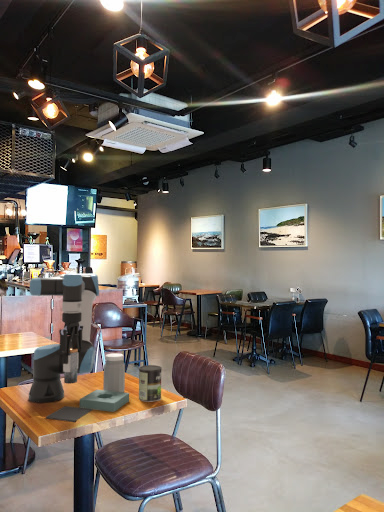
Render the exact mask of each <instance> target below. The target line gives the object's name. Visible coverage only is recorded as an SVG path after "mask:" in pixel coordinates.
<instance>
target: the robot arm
mask: <svg viewBox="0 0 384 512" xmlns="http://www.w3.org/2000/svg"><path fill="white" fill-rule="evenodd" d="M29 293H30V295H31V296H37V297H40V296H43V297H44V296H49V297H50V296H51V297H52V296H55V297H56V296H57V297H59V296H62V304H61V306H62V308H61V311H62V314H61V318H62V319H61V322H62V323H64V325H63V328H62V329H61V328H60V329H59V331H58V332H59V343H53V344H47V345H42V346H38V347H37V348H35V350H34V351H33V358H32V360H33V365H32V366H33V367H32V369H33V370H32V371H33V372H32V374H33V375H32V377H33V378H32V383H31V386H30V389H29V392H28V400H29V402H31V403H40V404H43V403H44V404H45V403H50V402H51V403H52V402H56V401H59V400H61V399H63V398H64V397H65V390H64V387H63V383H62V379H61V374H62V375H64V372H70V360H71V355H69V353H70V348H77V349H78V365H77V375H79V374H80V375H82V374H89V373H91V372H92V370H93V368H94V365H95V364H94V363H95V360H96V348H95V346H93V343H92V342H91V331H92V329H91V328H92V316H93V315H92V314H93V304H94V302H95V300H96V299H97V297H99V296H100V287H99V277H98V275H97V274H96V273H62V274H57V275H52V276H51V277H32V278H31V279H30V282H29Z"/></svg>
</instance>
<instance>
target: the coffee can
mask: <svg viewBox="0 0 384 512" xmlns="http://www.w3.org/2000/svg"><path fill="white" fill-rule="evenodd" d="M162 370H163V369H162V366H159V365H154V364H153V365H151V364H149V365H141V366H139V367H138V400H140V401H141V402H146V403H147V402H148V403H150V402H151V403H152V402H160V401H161V400H162Z"/></svg>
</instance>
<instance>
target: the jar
mask: <svg viewBox="0 0 384 512" xmlns="http://www.w3.org/2000/svg"><path fill="white" fill-rule="evenodd" d="M124 357H125V356H124V354H122V353H121V352H120V353H119V352H114V353H107V354H105V357H104V358H105V361H104V362H105V363H104V365H103V388H102V390H105V391H115V392H124V393H125V390H126V388H125V382H126V380H125V379H126V373H125V371H126V364H125V363H124V361H125V360H124Z"/></svg>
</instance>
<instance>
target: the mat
mask: <svg viewBox="0 0 384 512" xmlns="http://www.w3.org/2000/svg"><path fill="white" fill-rule="evenodd" d="M92 411H94V409H86V408H80V407H76V406H67V405H64V406H63V407H61V408H59V409H57V410H55V411H53V412H52V413H50V414H48V415H47V416H45V419H48V420H56V421H61V422H63V421H64V422H69V423H70V422H71V423H76V422H77V421H78V420H79V419H81V418H82V417H84V416H85V415H87V414H89V413H90V412H92Z"/></svg>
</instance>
